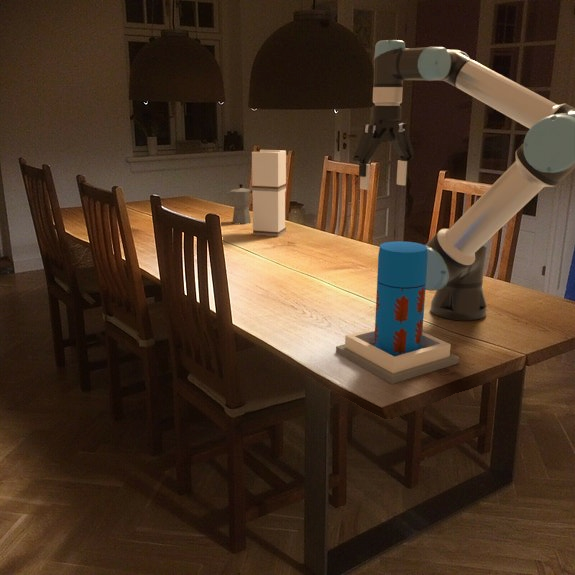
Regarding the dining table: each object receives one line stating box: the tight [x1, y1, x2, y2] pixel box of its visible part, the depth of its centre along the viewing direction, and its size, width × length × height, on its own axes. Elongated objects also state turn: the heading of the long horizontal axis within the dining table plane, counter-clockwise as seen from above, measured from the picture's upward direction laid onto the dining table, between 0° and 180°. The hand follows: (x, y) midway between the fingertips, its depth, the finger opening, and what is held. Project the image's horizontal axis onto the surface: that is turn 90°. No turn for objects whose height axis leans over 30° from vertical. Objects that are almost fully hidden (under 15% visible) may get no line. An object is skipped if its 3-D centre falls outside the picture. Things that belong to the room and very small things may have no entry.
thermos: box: [374, 240, 428, 357], centre depth 143 cm, size 11×11×25 cm
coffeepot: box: [227, 183, 253, 225], centre depth 294 cm, size 15×9×18 cm, turn 117°
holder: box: [335, 327, 460, 385], centre depth 146 cm, size 20×20×4 cm
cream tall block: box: [251, 149, 287, 238], centre depth 269 cm, size 11×11×35 cm
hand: (383, 187), depth 169 cm, fingers open, 13 cm apart
